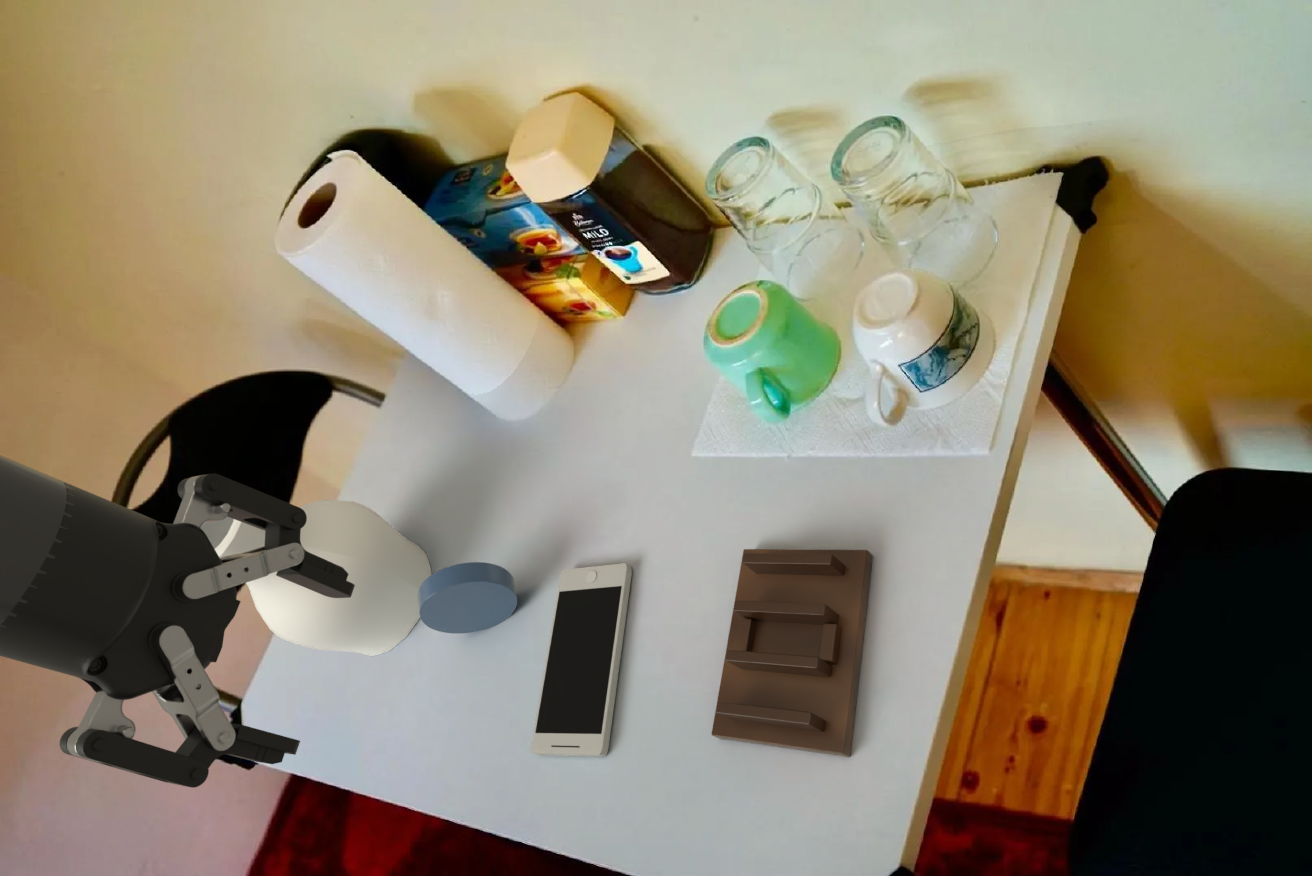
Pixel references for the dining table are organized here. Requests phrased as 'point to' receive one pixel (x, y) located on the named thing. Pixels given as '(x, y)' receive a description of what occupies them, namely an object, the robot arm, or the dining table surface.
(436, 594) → the disc
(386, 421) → the dining table surface
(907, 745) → the dining table surface
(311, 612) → the vase
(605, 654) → the smartphone
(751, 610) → the rack
